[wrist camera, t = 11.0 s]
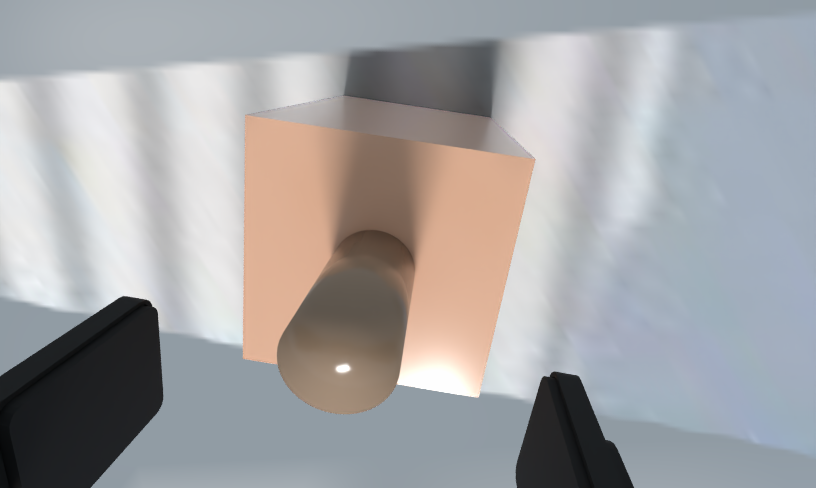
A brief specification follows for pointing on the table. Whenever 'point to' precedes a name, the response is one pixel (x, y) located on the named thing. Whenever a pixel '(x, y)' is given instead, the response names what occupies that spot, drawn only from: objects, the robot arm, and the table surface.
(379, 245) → the cover
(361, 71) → the table surface
